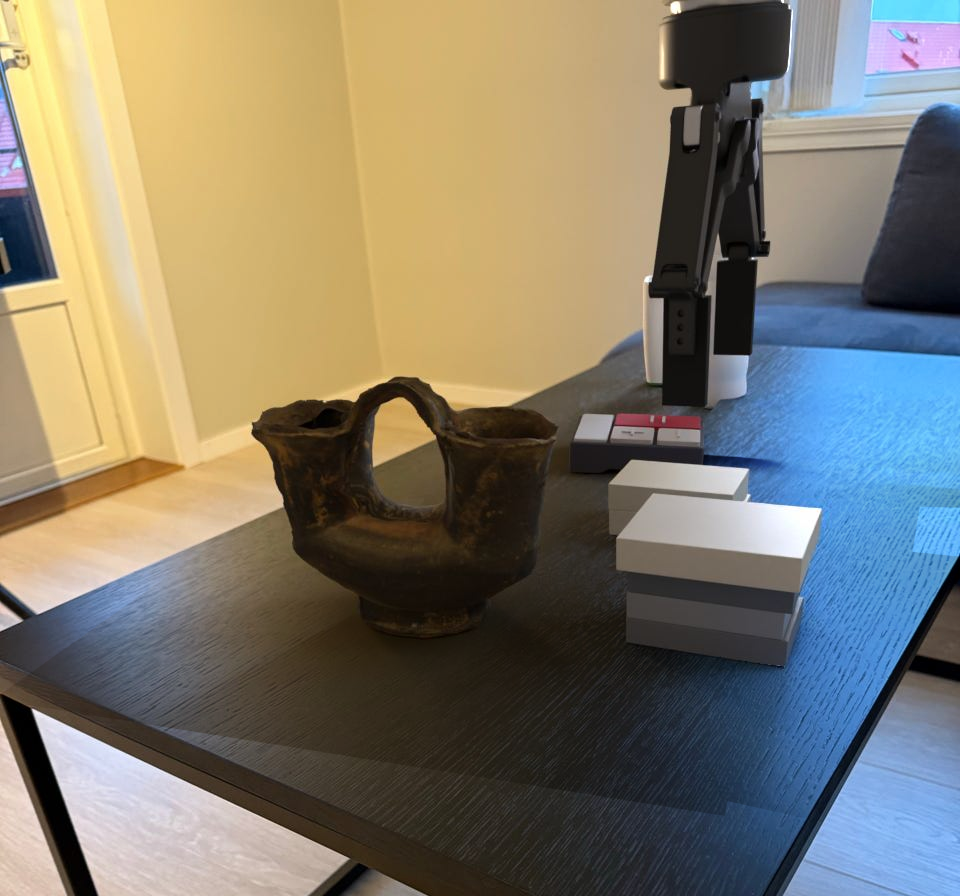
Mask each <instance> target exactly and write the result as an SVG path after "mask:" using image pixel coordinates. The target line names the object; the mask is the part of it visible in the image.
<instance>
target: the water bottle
mask: <svg viewBox="0 0 960 896" xmlns="http://www.w3.org/2000/svg"><path fill="white" fill-rule="evenodd" d="M752 259H755V257H752ZM752 259H751V260H752ZM719 260H728V258H723V257H722V253H721V247H720V240H719V234H718V235H717V240H716V245H715V250H714V255H713V260H712V265H711V270H710V275H709V280H708V289H707V292H706V294H705V295H712V298H711V325H710V351H709V377H708V403H707V405H706V406H705V407H702V408H703V409H708V410H713V409H714V408H715V407H716V405H718V403H719V402H720V401H721V400H732V399H737V398H740V397H743V396H746V395H747V388H748V387H747V373H748V368H749V356H744V355H713V347H714V322H715V298H716V273H717V261H719Z"/></svg>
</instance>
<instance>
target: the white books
mask: <svg viewBox="0 0 960 896" xmlns="http://www.w3.org/2000/svg"><path fill="white" fill-rule="evenodd" d="M749 479H750V468H744V467H732V466H731V467H730V466H718V465H717V466H716V465H706V464H705V465H704V464H702V465H693V464H680V463H667V462H655V461H642V460H631V461H630V462H629V463H628V464H627V465H626V466H625V467H624V468H623V469H622V470H621V469H620V471H619V472H618V473H617V474H616V475H615V477H613V479H612V480H610V482H609V483H608V489H607V490H608V492H607V493H608V501H607V503H608V505H607V507H608V534H609V535H611V536H619V534H620V533H621V532H622V531H623V529H624V528H625V527H626V526H627V525H628V523H629V522H630V521H631V520H632V518H633V517H634V516H635V515H636V514H637V512H638V511H639V510H640V509H641V507H642V506H643V505H644V504H645V503H646V501H647V500H648V499H649V498H650V496H651V495H652V494H653V493H655V494H666V495H677V496H688V497H699V498H710V499H721V500H732V501H743V502H751V494H750V493H748V492H749V481H750V480H749Z"/></svg>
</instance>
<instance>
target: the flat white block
mask: <svg viewBox="0 0 960 896" xmlns="http://www.w3.org/2000/svg"><path fill="white" fill-rule="evenodd" d="M822 516H823V509H822V508H819V507H818V508H817V507H806V506H797V505H796V506H795V505H785V504H775V503H764V502H763V503H762V502H752V501H750V502H743V501H732V500H721V499H710V498H699V497H688V496H677V495H666V494H655V493H653V494H652V495H651V496H650V498H649V499H648V500H647V501H646V503H645V504H644V505H643V506H642V507H641V509H640V510H639V511H638V512H637V514H636V515H635V516H634V517H633V518H632V520H631V521H630V522H629V523H628V525H627V526H626V527H625V528H624V529H623V531H622V532H621V533H620V534H619V535H617V537H616V539H615V540H616V541H615V543H616V544H615V545H616V547H615V548H616V549H615V550H616V551H615V552H616V553H615V561H616V562H615V566H616V568H615V569H616V571H620V572H621V571H622V572H628V571H629V572H636V573H644V574H652V575H660V576H668V577H676V578H683V579H691V580H699V581H707V582H715V583H723V584H730V585H738V586H746V587H754V588H762V589H770V590H777V591H785V592H793V593H799V592H800V589H801V586H802V584H803V581H804V578H805V576H806V573H807V570H808V567H809V568H810V564H811V562H812V560H813V556H814V554H815V551H816V548H817V546H818V543H819V541H820V533H821V524H822ZM808 571H809V570H808ZM807 574H808V573H807ZM806 577H807V576H806ZM804 582H805V581H804ZM803 585H804V584H803ZM801 590H802V589H801ZM800 593H801V592H800Z"/></svg>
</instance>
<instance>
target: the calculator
mask: <svg viewBox="0 0 960 896" xmlns="http://www.w3.org/2000/svg"><path fill="white" fill-rule="evenodd" d="M701 418H702V417H700V416H692V415H691V416H689V415H665V414H663V415H662V414H642V413H641V414H640V413H639V414H638V413H617V415H616V416H614V414H600V413H599V414H598V413H584V414H583V415H580V416H579V418H578V421H577V423H576V426H575V428H574V430H573V433H572V435H571V438H570V440H569V446H568V447H569V448H568V450H569V452H568V471H569V472H570V473H585V474H602V473H604V472H606V471H608V470H620V471H621V470H622V469H623V468H624V467H625V466H626V465H627V464H628V463H629V462H630V461H631V460H642V461H655V462H667V463H680V464H693V465H704V464H703V462H704V454H705V421H704V420H701Z"/></svg>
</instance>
